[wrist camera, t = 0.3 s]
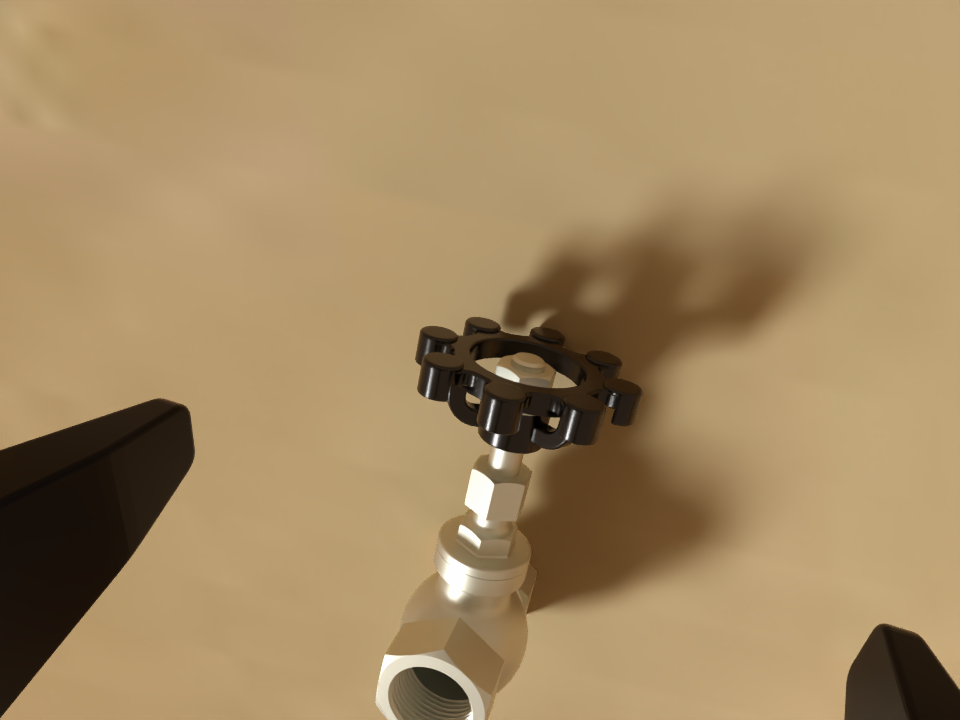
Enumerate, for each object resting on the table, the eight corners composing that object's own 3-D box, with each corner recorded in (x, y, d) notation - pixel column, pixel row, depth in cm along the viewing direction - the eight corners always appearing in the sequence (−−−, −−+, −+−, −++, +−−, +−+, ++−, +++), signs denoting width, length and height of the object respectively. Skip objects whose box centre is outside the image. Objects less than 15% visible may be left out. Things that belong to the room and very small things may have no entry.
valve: (562, 651, 28) (652, 356, 24) (522, 798, 22) (632, 438, 18) (399, 592, 30) (456, 301, 25) (319, 715, 23) (376, 360, 19)
